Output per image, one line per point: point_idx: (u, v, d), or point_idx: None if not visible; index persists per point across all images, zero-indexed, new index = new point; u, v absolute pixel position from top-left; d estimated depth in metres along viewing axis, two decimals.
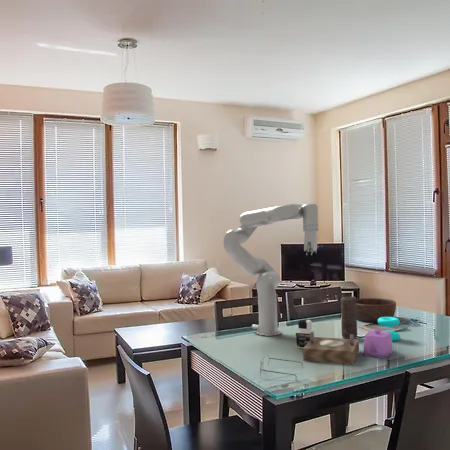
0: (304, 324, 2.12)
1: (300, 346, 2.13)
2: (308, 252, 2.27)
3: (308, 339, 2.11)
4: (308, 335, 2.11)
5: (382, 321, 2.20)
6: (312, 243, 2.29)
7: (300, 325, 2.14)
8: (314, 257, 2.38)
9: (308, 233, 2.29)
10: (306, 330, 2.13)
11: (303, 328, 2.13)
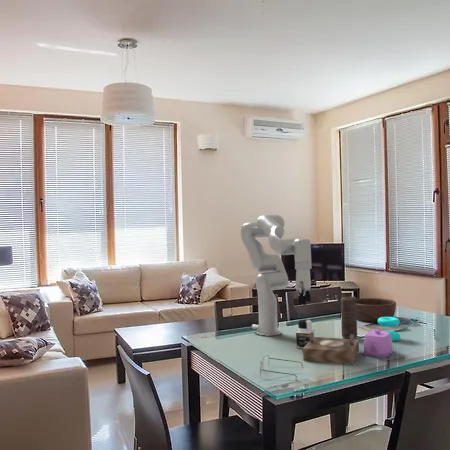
0: (304, 324, 2.12)
1: (300, 346, 2.13)
2: (300, 292, 2.08)
3: (308, 339, 2.11)
4: (308, 335, 2.11)
5: (382, 321, 2.20)
6: (305, 282, 2.10)
7: (300, 325, 2.14)
8: (307, 296, 2.19)
9: (301, 272, 2.11)
10: (306, 330, 2.13)
11: (303, 328, 2.13)
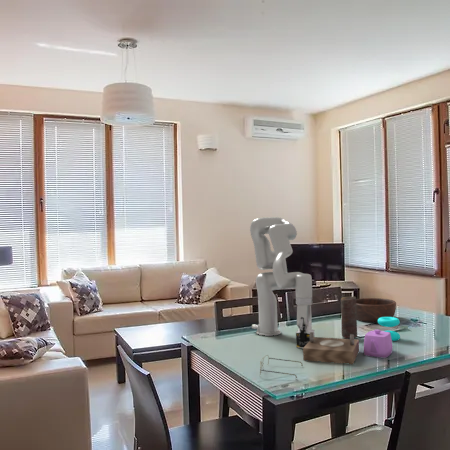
0: None
1: (300, 346, 2.13)
2: (302, 330, 2.09)
3: (308, 339, 2.11)
4: (308, 335, 2.11)
5: (382, 321, 2.20)
6: (305, 318, 2.10)
7: None
8: None
9: (301, 308, 2.11)
10: (306, 330, 2.13)
11: None
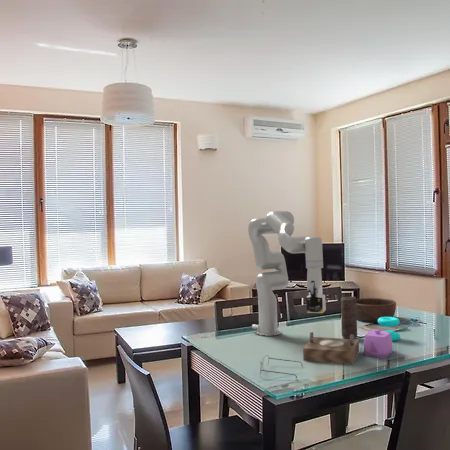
0: None
1: (311, 311, 2.05)
2: (312, 294, 2.02)
3: (319, 303, 2.03)
4: (319, 299, 2.03)
5: (382, 321, 2.20)
6: (316, 282, 2.03)
7: None
8: None
9: (312, 271, 2.04)
10: (317, 294, 2.05)
11: None
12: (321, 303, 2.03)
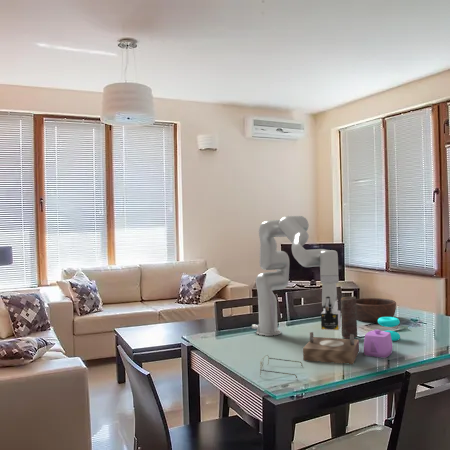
0: None
1: (325, 328, 1.96)
2: (327, 310, 1.93)
3: (334, 320, 1.95)
4: (334, 316, 1.95)
5: (382, 321, 2.20)
6: (331, 298, 1.94)
7: None
8: None
9: (327, 286, 1.95)
10: (332, 310, 1.96)
11: None
12: (336, 320, 1.94)
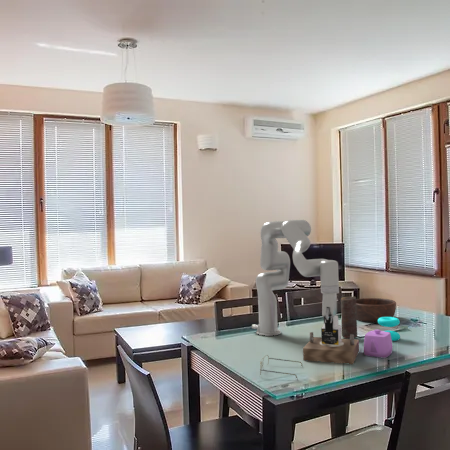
0: (330, 319, 1.96)
1: (326, 343, 1.96)
2: (327, 319, 1.92)
3: (335, 335, 1.95)
4: (335, 331, 1.95)
5: (382, 321, 2.20)
6: (332, 308, 1.94)
7: None
8: None
9: (328, 296, 1.95)
10: None
11: None
12: (337, 335, 1.94)
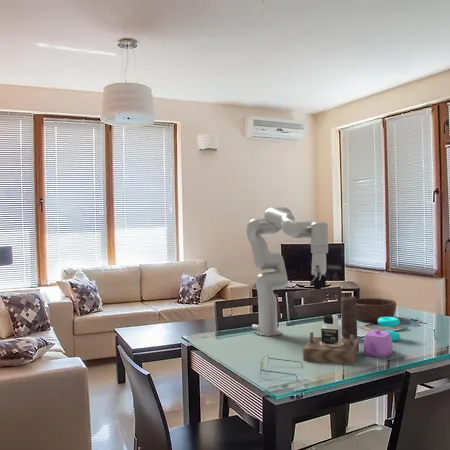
0: (330, 319, 1.96)
1: (326, 343, 1.96)
2: (316, 277, 2.04)
3: (334, 335, 1.95)
4: (334, 331, 1.95)
5: (382, 321, 2.20)
6: (321, 267, 2.05)
7: (325, 320, 1.97)
8: (322, 281, 2.14)
9: (317, 256, 2.06)
10: (332, 325, 1.96)
11: (329, 323, 1.96)
12: (337, 335, 1.94)
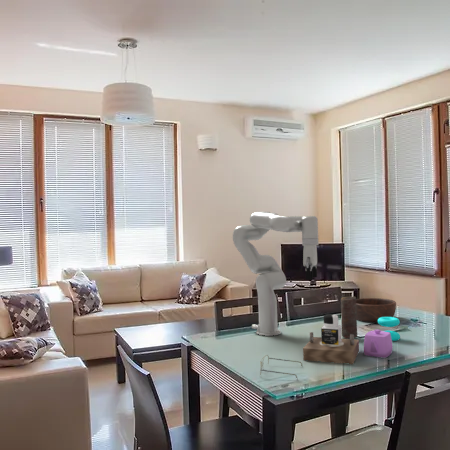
0: (330, 319, 1.96)
1: (326, 343, 1.96)
2: (307, 268, 2.15)
3: (334, 335, 1.95)
4: (334, 331, 1.95)
5: (382, 321, 2.20)
6: (312, 258, 2.17)
7: (325, 320, 1.97)
8: (314, 272, 2.26)
9: (308, 248, 2.18)
10: (332, 325, 1.96)
11: (329, 323, 1.96)
12: (337, 335, 1.94)
